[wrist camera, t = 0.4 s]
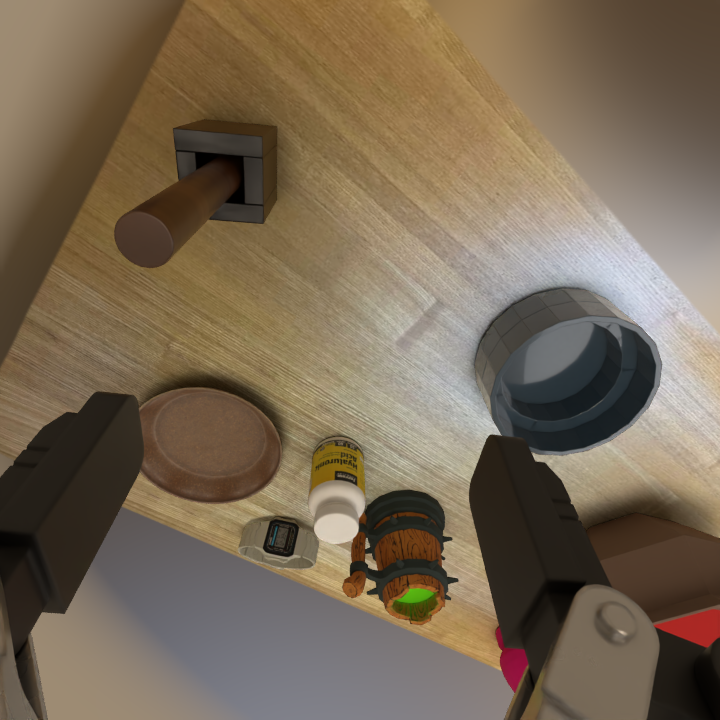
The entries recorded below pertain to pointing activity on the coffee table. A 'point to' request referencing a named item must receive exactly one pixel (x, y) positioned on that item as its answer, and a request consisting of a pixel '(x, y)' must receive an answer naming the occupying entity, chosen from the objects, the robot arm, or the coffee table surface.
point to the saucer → (208, 445)
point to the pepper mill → (511, 662)
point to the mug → (402, 555)
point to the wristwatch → (279, 544)
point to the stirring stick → (177, 212)
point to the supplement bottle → (337, 489)
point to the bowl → (566, 371)
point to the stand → (238, 139)
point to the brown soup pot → (664, 572)
